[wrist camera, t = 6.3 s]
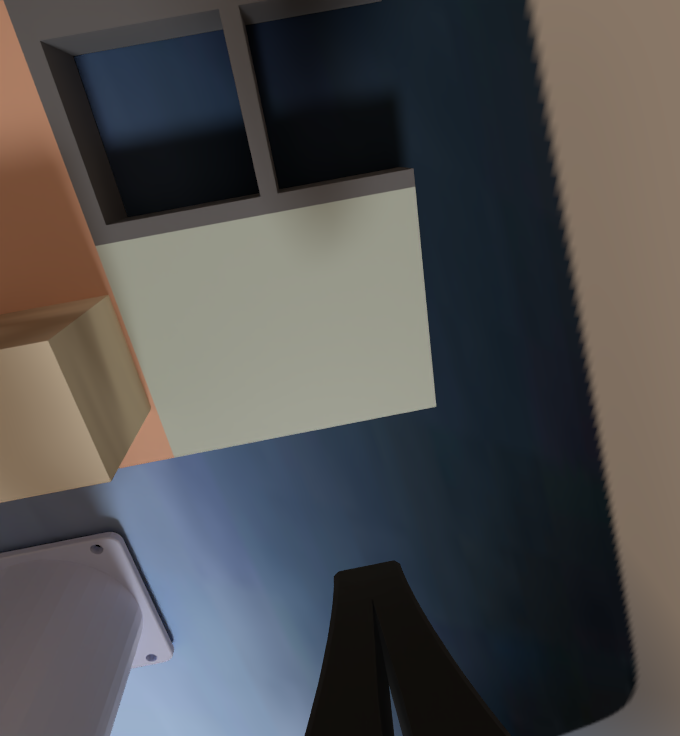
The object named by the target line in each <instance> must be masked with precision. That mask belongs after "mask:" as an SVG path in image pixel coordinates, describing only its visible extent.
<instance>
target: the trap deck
mask: <svg viewBox="0 0 680 736" xmlns="http://www.w3.org/2000/svg"><path fill="white" fill-rule="evenodd" d="M379 1H382V0H0V315H1V314H6V313H12V312H17V311H23V310H28V309H33V308H39V307H44V306H50V305H55V304H61V303H66V302H71V301H77V300H82V299H88V298H93V297H99V296H104V295H109V297H110V299H111V302H112V305H113V307H114V310H115V313H116V315H117V318H118V321H119V323H120V326H121V329H122V331H123V334H124V337H125V339H126V342H127V345H128V347H129V350H130V353H131V355H132V358H133V361H134V363H135V366H136V369H137V371H138V374H139V377H140V379H141V382H142V385H143V387H144V390H145V393H146V396H147V398H148V401H149V404H150V406H151V410H150V412H149V414H148V415H147V417H146V419H145V421H144V423H143V424H142V426H141V428H140V430H139V432H138V433H137V435H136V437H135V439H134V441H133V443H132V444H131V446H130V448H129V450H128V452H127V453H126V455H125V457H124V459H123V461H122V462H121V464H120V466H119V468H123V467H128V466H133V465H138V464H143V463H149V462H154V461H159V460H164V459H169V458H174V457H179V456H185V455H190V454H195V453H200V452H205V451H210V450H215V449H221V448H226V447H231V446H236V445H241V444H246V443H251V442H256V441H262V440H267V439H272V438H277V437H282V436H287V435H292V434H298V433H303V432H308V431H313V430H318V429H323V428H328V427H334V426H339V425H344V424H349V423H354V422H359V421H364V420H370V419H375V418H380V417H385V416H390V415H395V414H400V413H405V412H411V411H416V410H421V409H426V408H431V407H436V401H435V390H434V380H433V369H432V359H431V348H430V338H429V327H428V317H427V306H426V296H425V285H424V275H423V264H422V254H421V243H420V233H419V222H418V212H417V201H416V191H415V180H414V170H413V168H402V167H397V168H392V169H387V170H381V171H376V172H370V173H365V174H360V175H354V176H349V177H343V178H338V179H333V180H327V181H322V182H316V183H311V184H306V185H300V186H295V187H289V188H284V189H279V186H278V181H277V176H276V172H275V167H274V162H273V157H272V152H271V147H270V143H269V138H268V133H267V128H266V123H265V118H264V114H263V109H262V104H261V99H260V94H259V89H258V85H257V80H256V75H255V70H254V65H253V60H252V55H251V51H250V46H249V41H248V36H247V31H246V26H245V25H250V24H256V23H261V22H267V21H273V20H278V19H284V18H289V17H295V16H301V15H306V14H312V13H318V12H323V11H329V10H334V9H340V8H346V7H351V6H357V5H362V4H368V3H374V2H379ZM222 29H223V30H224V35H225V39H226V44H227V48H228V53H229V57H230V62H231V66H232V71H233V75H234V80H235V84H236V89H237V93H238V98H239V102H240V107H241V111H242V116H243V120H244V124H245V129H246V133H247V138H248V142H249V147H250V151H251V156H252V160H253V165H254V169H255V174H256V178H257V183H258V187H259V192H260V193H257V194H251V195H246V196H241V197H235V198H230V199H224V200H219V201H214V202H208V203H203V204H197V205H192V206H187V207H181V208H176V209H170V210H165V211H160V212H154V213H149V214H143V215H138V216H133V217H127V214H126V211H125V208H124V205H123V202H122V199H121V196H120V193H119V190H118V187H117V185H116V182H115V179H114V176H113V173H112V170H111V167H110V164H109V161H108V158H107V155H106V152H105V149H104V146H103V143H102V140H101V137H100V134H99V131H98V128H97V125H96V122H95V119H94V117H93V114H92V111H91V108H90V105H89V102H88V99H87V96H86V93H85V90H84V87H83V84H82V81H81V78H80V75H79V72H78V69H77V66H76V63H75V60H74V57H73V56H76V55H82V54H87V53H93V52H99V51H104V50H110V49H116V48H121V47H127V46H132V45H138V44H144V43H149V42H155V41H160V40H166V39H172V38H177V37H183V36H188V35H194V34H200V33H205V32H211V31H217V30H222Z"/></svg>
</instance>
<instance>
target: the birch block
mask: <svg viewBox="0 0 680 736" xmlns="http://www.w3.org/2000/svg"><path fill="white" fill-rule="evenodd" d="M150 410H151V406H150V404H149V401H148V398H147V396H146V393H145V390H144V387H143V385H142V382H141V379H140V377H139V374H138V371H137V369H136V366H135V363H134V361H133V358H132V355H131V353H130V350H129V347H128V345H127V342H126V339H125V337H124V334H123V331H122V329H121V326H120V323H119V321H118V318H117V315H116V313H115V310H114V307H113V305H112V302H111V299H110V297H109V295H104V296H99V297H93V298H88V299H82V300H77V301H71V302H66V303H61V304H55V305H50V306H44V307H39V308H33V309H28V310H23V311H17V312H12V313H6V314H1V315H0V503H2V502H7V501H12V500H17V499H22V498H28V497H33V496H38V495H43V494H49V493H54V492H59V491H64V490H69V489H75V488H80V487H85V486H90V485H95V484H101V483H106V482H111V480H112V479H113V477H114V475H115V473H116V471H117V470H118V468H119V466H120V464H121V462H122V461H123V459H124V457H125V455H126V453H127V452H128V450H129V448H130V446H131V444H132V443H133V441H134V439H135V437H136V435H137V433H138V432H139V430H140V428H141V426H142V424H143V423H144V421H145V419H146V417H147V415H148V414H149V412H150Z"/></svg>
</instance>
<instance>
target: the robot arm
mask: <svg viewBox="0 0 680 736" xmlns="http://www.w3.org/2000/svg"><path fill="white" fill-rule="evenodd" d="M96 545H100V546H101V547H97V546H96ZM173 652H174V647H173V644H172V642H171V640H170V638H169V636H168V634H167V632H166V630H165V627H164V625H163V623H162V621H161V619H160V617H159V615H158V612H157V610H156V608H155V606H154V604H153V602H152V600H151V597H150V595H149V593H148V591H147V589H146V587H145V585H144V583H143V580H142V578H141V576H140V574H139V572H138V570H137V568H136V565H135V563H134V561H133V559H132V557H131V555H130V553H129V550H128V548H127V546H126V544H125V542H124V540H123V538H122V537H121V536H120V535H119V534H117V533H114V532H105V533H100V534H95V535H90V536H85V537H80V538H75V539H70V540H65V541H60V542H55V543H50V544H45V545H40V546H34V547H29V548H24V549H19V550H14V551H9V552H4V553H0V736H110V734H111V731H112V728H113V724H114V721H115V718H116V715H117V711H118V708H119V705H120V702H121V699H122V695H123V692H124V689H125V686H126V683H127V679H128V676H129V673H130V670H131V669H132V668H137V667H142V666H146V665H151V664H156V663H161V662H166V661H168V660H170V659H171V658H172V656H173ZM389 686H390V690H391V694H392V697H393V701H394V705H395V708H396V712H397V716H398V719H399V723H400V727H401V730H402V734H403V736H511V735H510V734H509V732H508V731H507V730H506V729H505V727H504V726H503V725H502V724H501V723H500V721H499V720H498V719H497V717H496V716H495V715H494V714H493V712H492V711H491V710H490V708H489V707H488V706H487V705H486V703H485V702H484V701H483V699H482V698H481V697H480V695H479V694H478V693H477V691H476V690H475V688H474V687H473V686H472V684H471V683H470V682H469V680H468V679H467V678H466V676H465V675H464V673H463V672H462V671H461V669H460V668H459V666H458V665H457V663H456V662H455V661H454V659H453V658H452V656H451V655H450V653H449V652H448V650H447V649H446V647H445V645H444V644H443V642H442V641H441V639H440V638H439V636H438V635H437V633H436V632H435V630H434V629H433V627H432V625H431V624H430V622H429V620H428V619H427V617H426V616H425V614H424V612H423V610H422V609H421V607H420V605H419V603H418V602H417V600H416V598H415V596H414V594H413V592H412V590H411V588H410V586H409V584H408V582H407V580H406V578H405V576H404V573H403V571H402V568H401V566H400V563H398V562H396V561H389V562H384V563H379V564H374V565H369V566H364V567H359V568H354V569H349V570H344V571H339V572H338V573H337V574H336V575H335V576H334V593H333V605H332V613H331V620H330V627H329V633H328V639H327V644H326V649H325V654H324V659H323V664H322V669H321V674H320V678H319V683H318V687H317V690H316V694H315V698H314V702H313V706H312V710H311V714H310V718H309V722H308V725H307V729H306V733H305V736H394V729H393V719H392V710H391V701H390V691H389Z"/></svg>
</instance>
